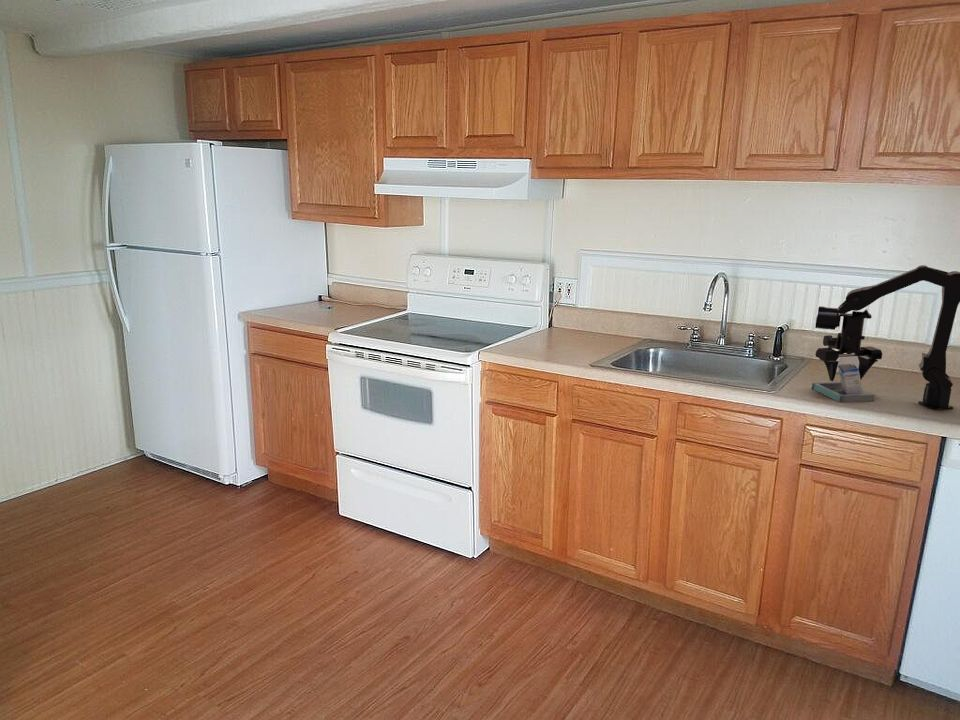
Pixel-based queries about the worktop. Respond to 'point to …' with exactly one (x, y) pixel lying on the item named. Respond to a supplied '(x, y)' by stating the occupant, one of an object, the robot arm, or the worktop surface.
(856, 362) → the medicine bottle
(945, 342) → the robot arm
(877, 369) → the worktop surface
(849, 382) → the medicine box
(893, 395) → the worktop surface
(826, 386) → the frame
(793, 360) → the worktop surface
